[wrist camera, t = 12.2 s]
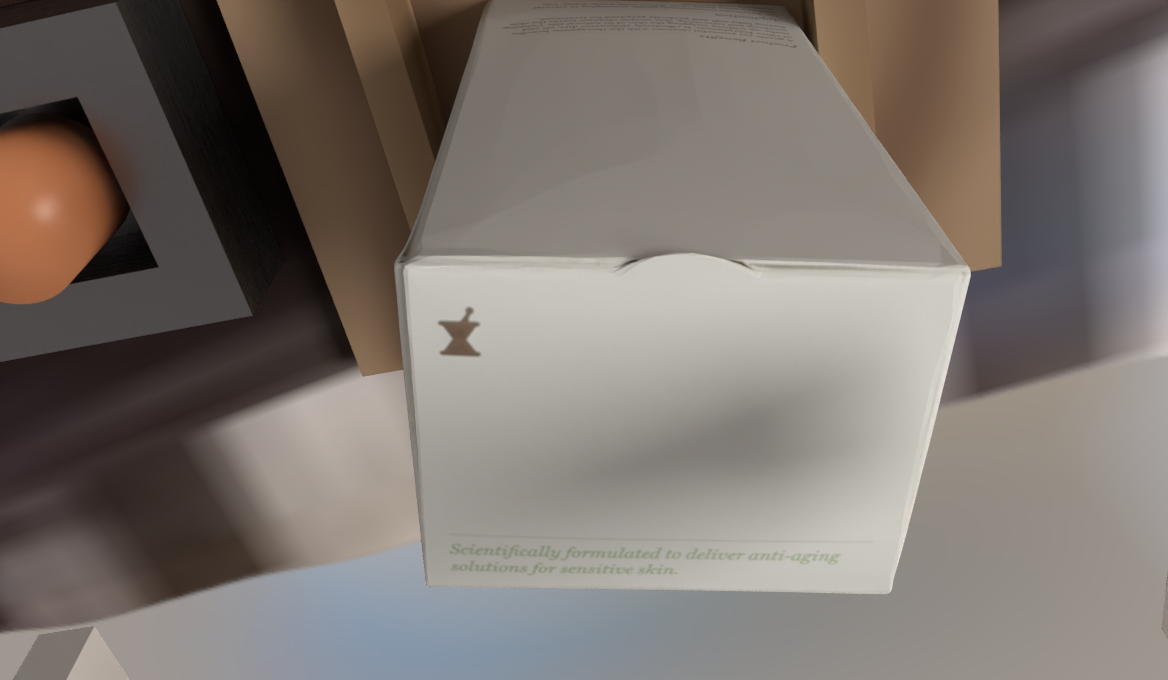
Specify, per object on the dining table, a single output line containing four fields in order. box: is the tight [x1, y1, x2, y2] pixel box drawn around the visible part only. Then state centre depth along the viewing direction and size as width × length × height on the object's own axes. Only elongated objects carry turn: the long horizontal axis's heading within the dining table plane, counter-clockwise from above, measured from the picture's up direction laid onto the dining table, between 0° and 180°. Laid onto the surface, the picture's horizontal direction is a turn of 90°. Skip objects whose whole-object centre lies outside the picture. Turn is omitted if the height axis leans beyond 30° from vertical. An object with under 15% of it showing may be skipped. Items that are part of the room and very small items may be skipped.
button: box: [0, 113, 130, 304], centre depth 28 cm, size 4×4×4 cm
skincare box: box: [394, 0, 971, 594], centre depth 23 cm, size 8×7×16 cm
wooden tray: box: [217, 0, 1001, 376], centre depth 29 cm, size 20×14×4 cm
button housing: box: [0, 0, 284, 362], centre depth 30 cm, size 9×9×4 cm
